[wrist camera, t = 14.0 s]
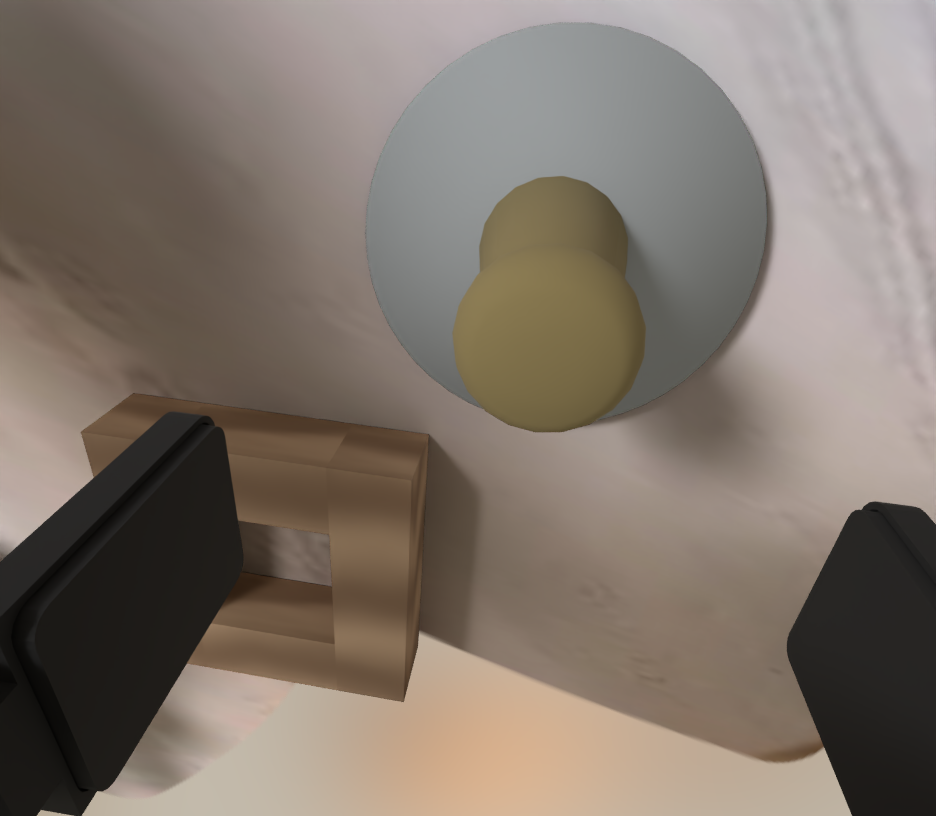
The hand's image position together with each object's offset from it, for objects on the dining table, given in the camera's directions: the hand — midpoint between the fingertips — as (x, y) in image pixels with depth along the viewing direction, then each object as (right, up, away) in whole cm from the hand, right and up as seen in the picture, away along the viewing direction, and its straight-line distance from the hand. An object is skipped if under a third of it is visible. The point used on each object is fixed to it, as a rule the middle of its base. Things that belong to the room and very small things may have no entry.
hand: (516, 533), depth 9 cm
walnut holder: (-11, -5, +26) cm, 29 cm away
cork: (+3, +8, +15) cm, 18 cm away
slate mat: (+3, +9, +16) cm, 18 cm away
